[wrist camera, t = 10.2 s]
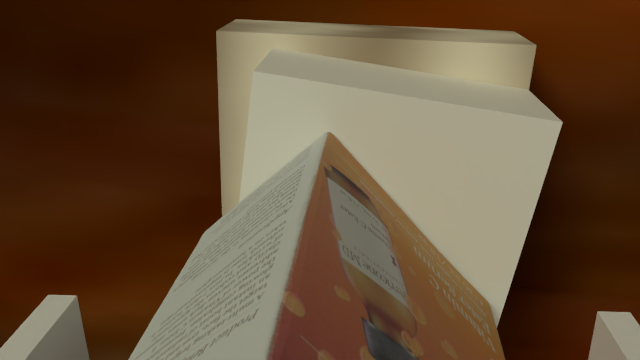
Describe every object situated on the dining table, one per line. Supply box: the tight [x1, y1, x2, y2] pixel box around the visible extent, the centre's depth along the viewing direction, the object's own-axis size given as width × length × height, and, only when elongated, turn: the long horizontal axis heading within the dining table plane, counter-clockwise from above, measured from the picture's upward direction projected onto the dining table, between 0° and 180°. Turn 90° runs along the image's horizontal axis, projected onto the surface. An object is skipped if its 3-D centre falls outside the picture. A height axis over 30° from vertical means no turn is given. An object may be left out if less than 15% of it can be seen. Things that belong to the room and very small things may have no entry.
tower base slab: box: [216, 19, 536, 217], centre depth 25 cm, size 11×13×4 cm
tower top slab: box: [239, 48, 563, 328], centre depth 21 cm, size 9×11×4 cm
